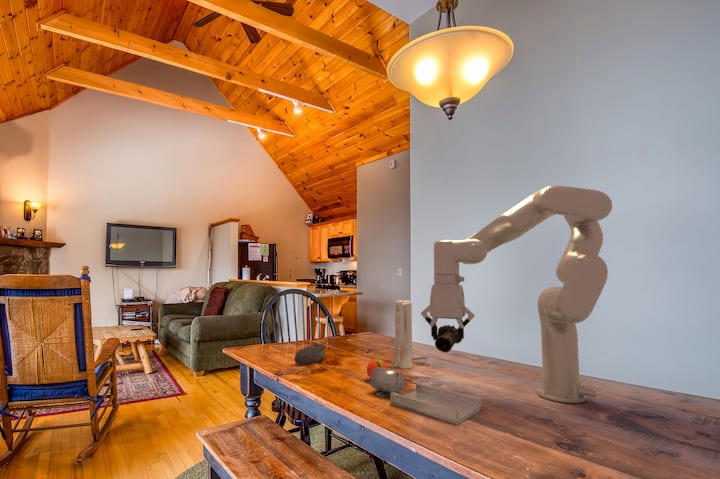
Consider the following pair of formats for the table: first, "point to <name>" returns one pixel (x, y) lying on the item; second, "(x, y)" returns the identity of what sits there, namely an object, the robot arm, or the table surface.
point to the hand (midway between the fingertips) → (447, 339)
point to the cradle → (438, 403)
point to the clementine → (375, 366)
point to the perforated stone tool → (310, 354)
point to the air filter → (403, 334)
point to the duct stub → (386, 381)
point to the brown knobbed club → (446, 338)
